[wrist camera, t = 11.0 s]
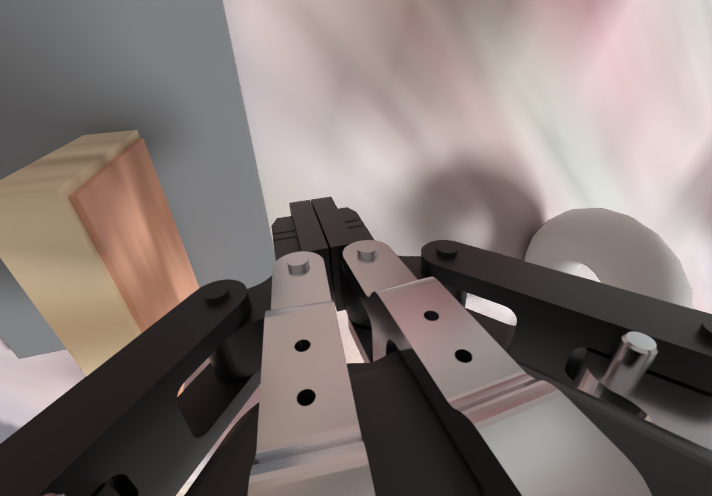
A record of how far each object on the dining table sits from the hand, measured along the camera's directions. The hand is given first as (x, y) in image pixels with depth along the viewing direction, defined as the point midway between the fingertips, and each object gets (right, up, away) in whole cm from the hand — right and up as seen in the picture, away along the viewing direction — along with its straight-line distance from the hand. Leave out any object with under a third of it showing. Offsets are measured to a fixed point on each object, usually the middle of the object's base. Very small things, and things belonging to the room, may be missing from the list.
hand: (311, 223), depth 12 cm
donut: (+14, -1, +12) cm, 19 cm away
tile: (-8, 0, +4) cm, 9 cm away
